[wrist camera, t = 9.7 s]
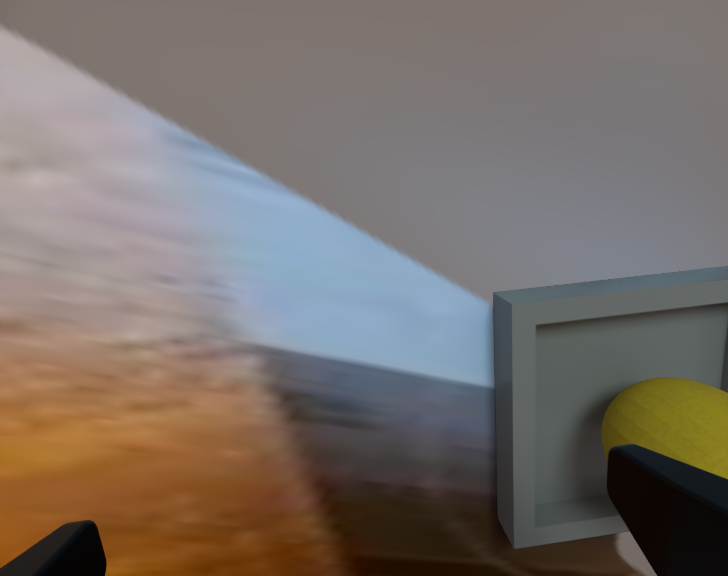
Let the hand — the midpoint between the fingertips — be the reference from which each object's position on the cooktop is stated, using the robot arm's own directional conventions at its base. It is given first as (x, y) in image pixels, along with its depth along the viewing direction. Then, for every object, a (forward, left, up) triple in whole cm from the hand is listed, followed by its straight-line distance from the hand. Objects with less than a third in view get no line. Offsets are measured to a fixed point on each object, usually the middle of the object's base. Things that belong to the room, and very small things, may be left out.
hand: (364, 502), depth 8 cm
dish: (-6, -13, -12) cm, 19 cm away
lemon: (-6, -13, -12) cm, 18 cm away
